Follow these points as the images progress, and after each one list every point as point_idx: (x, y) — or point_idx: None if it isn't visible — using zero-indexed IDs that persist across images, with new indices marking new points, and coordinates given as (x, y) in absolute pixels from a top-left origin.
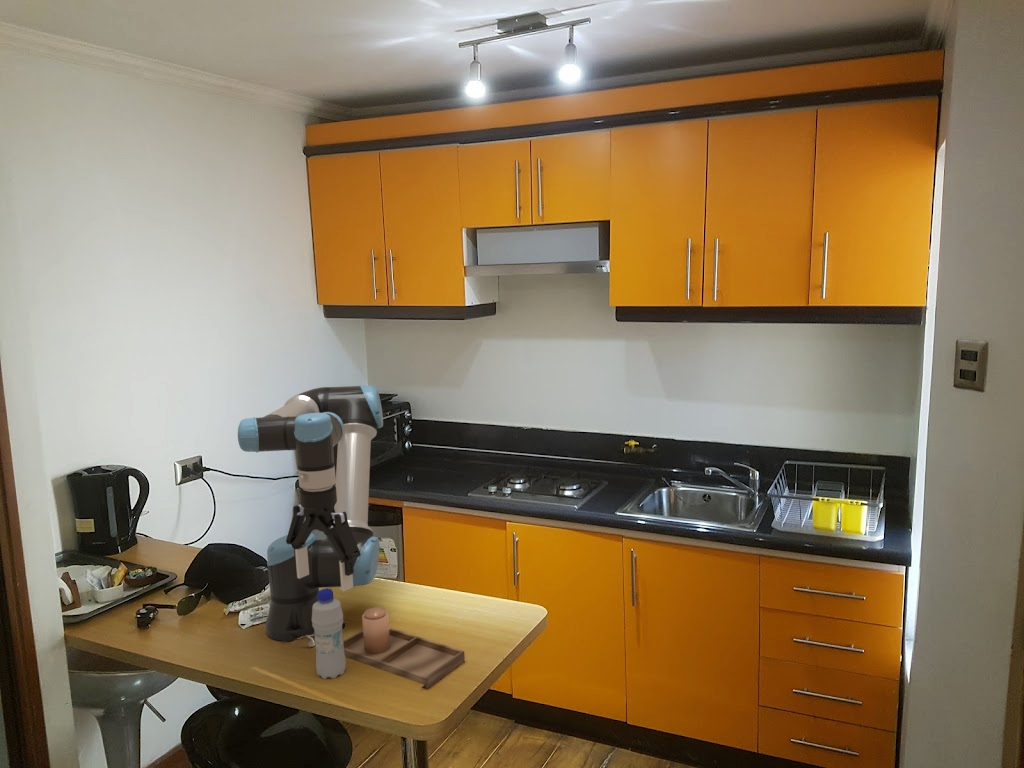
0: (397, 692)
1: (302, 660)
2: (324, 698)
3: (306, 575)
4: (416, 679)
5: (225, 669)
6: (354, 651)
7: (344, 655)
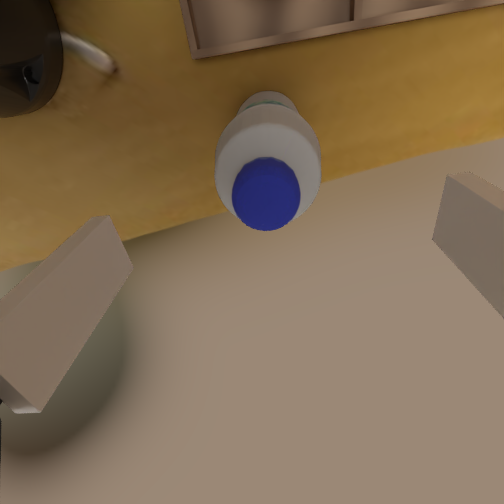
0: (450, 67)
1: (162, 125)
2: (321, 182)
3: (116, 231)
4: (497, 4)
5: None
6: (259, 38)
7: (293, 106)
